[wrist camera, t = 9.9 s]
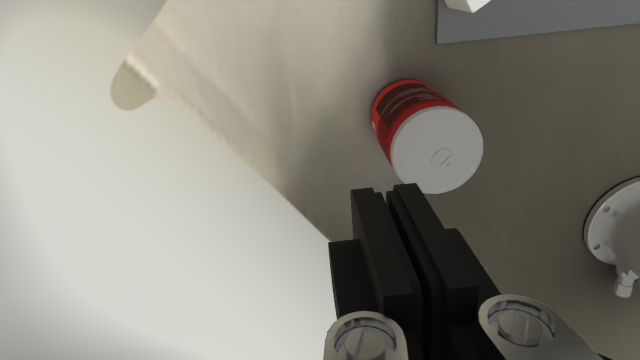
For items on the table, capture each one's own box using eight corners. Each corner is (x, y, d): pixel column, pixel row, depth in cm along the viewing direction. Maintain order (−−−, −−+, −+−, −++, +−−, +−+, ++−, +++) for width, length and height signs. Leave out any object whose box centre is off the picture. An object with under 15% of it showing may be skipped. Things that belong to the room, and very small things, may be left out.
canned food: (417, 158, 47) (451, 207, 37) (355, 130, 45) (374, 173, 35) (455, 97, 44) (503, 133, 34) (391, 64, 42) (422, 92, 32)
